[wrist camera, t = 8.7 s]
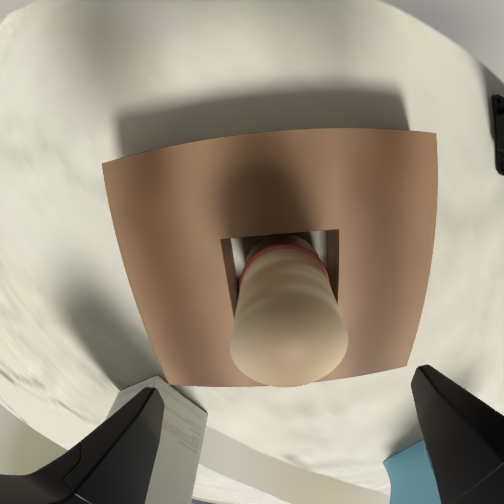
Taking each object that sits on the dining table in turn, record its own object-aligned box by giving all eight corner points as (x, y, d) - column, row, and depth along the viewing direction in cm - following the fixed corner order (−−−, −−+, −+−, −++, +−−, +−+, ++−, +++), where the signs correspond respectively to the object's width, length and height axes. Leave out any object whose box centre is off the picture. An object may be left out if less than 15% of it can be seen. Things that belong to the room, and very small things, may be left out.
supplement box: (117, 389, 24) (73, 481, 12) (158, 372, 22) (111, 490, 10) (165, 426, 26) (138, 514, 14) (211, 414, 24) (190, 522, 12)
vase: (380, 462, 29) (397, 560, 11) (422, 439, 27) (451, 539, 8) (397, 467, 31) (415, 551, 12) (435, 446, 28) (460, 531, 10)
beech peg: (318, 224, 16) (356, 291, 9) (319, 293, 18) (344, 382, 11) (240, 230, 17) (217, 302, 9) (248, 298, 18) (236, 390, 11)
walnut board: (410, 133, 14) (436, 133, 11) (393, 341, 19) (406, 366, 17) (126, 159, 15) (101, 163, 12) (178, 358, 21) (169, 384, 18)
